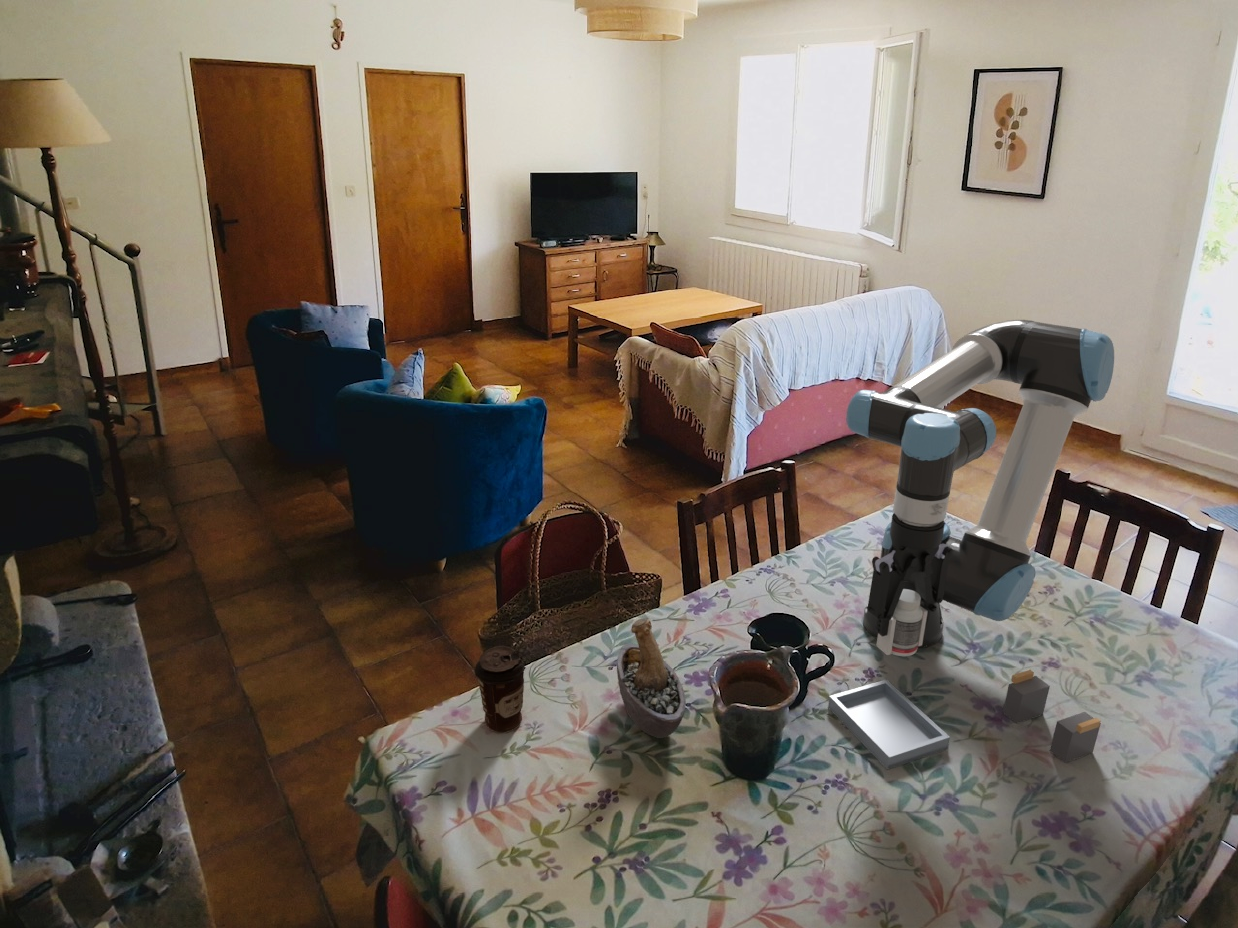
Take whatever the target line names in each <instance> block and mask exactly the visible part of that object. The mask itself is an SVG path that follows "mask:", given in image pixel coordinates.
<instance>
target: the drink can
mask: <svg viewBox="0 0 1238 928" xmlns="http://www.w3.org/2000/svg"><path fill="white" fill-rule="evenodd" d="M523 656H524V655H523V654H522V653H521V652H520V651H519V650H517V649H515V648H512V647H510V646H506V645H497V646H494V647H491V648H488V649H486V650H485V651H484V652H483V653H482V654H481V655H480V657H479V660H478V661H477V663H476V665H475V667H474V669H473V670H474V676H475V677H476V678H477V681H478V684H479V685H478V687H479V691H480V698H481V704H482V710H483V711H484V713H485V714H484V722H485V725H486V727H487V728H488V729H489V730H490V731H492V732H494V733H496V734H497V733H498V734H503V733H510V732H512V731H513V730H515V729H517V728H518V727H519V726H520V725H521V723H522V720H523V717H522V716H523V713H522V709H523V705H524V704H523V703H524V693H525V692H524V690H525V678H524V673H525V672H524V671H525V670H526V669H527V668H526V666H525V662H524V660H523Z"/></svg>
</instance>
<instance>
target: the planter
mask: <svg viewBox="0 0 1238 928" xmlns="http://www.w3.org/2000/svg"><path fill="white" fill-rule="evenodd" d="M630 631H631V633H633V634H634V636H635V638H636V642H637V644H636V643H631V642H628V643H625V644H624V645H622V646H621V648H620V649H619V652H618V655H617V660H616V673H617V681H618V686H619V687H618V688H619V693H620V697H621V699H622V702H623V705H624V707H625V710H626V712H627V714H628V716H629V718H630V719H631V720H632V722H633V723H634V724H635V725H636V726H637V728H639V729H640V730H641V731H642V732H643V733H646V734H648V735H649V736H652V737H653V738H659V739H660V738H661V739H663V738H667V737H669V736H670V735H672V734H673V733H674V732H675V731H676V730H677V729H678V727H679V726H680V724H681V723H682V720H683V718H684V715H685V711H686V703H687V701H686V696H685V691H684V688H683V685H682V682H681V680H680V678H679V676H678V675H677V673H676V671H675V670H674V669H673V668H672V667H671V665H670V664H668V663H667V662H666V660H664V659H663V655H662V654H661V649H660V647H659V644H658V642H657V640H656V638H655V635H654V634H653V631H652V623H651V620H650V619H647V618H640V619H637V620H635V621H634V622H633V623H632V625H631V630H630Z"/></svg>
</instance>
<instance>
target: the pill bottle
mask: <svg viewBox="0 0 1238 928" xmlns="http://www.w3.org/2000/svg"><path fill="white" fill-rule="evenodd" d="M920 600H921V597H920V595H919V594H918V593H917V592H915V591H912V590H909V589H903V591H902V593H901V596H900V598H899V601H898V604H897V606H896V609H895V611H894V614H893V617H894V618H895V619H896V625H895V631H894V638H893V645H892V652H891V655H894V656H900V657H911V656H912V655H914V654H916V653H917V651H918V648H917V647H918V641H919V635H920V629H921V623H922V617H923V612H922V609H921V608H920V607H919V606H920Z"/></svg>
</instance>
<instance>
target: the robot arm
mask: <svg viewBox="0 0 1238 928" xmlns="http://www.w3.org/2000/svg"><path fill="white" fill-rule="evenodd" d="M1114 366H1115V347H1114V343H1113V341H1112V339H1111V338H1110V337H1109V336H1108V335H1107V334H1105V333H1102V332H1101V333H1100V332H1097V331H1093V330H1088V329H1087V328H1078V327H1071V326H1065V325H1058V324H1050V323H1044V322H1039V321H1035V320H1028V319H1011V320H1004V321H1001V322H1000V321H999V322H996V323H991V324H989V325H985V326H982V327H980V328H977V329H975V330H972V331H970V332H969V333H967V334H965V335H964V336H962V337H960V338H959V339H958V340H957V341H956V342H955V343H954V345H953V346H952V349H951V350H949V351H948V352H946V353H944V355H942V356H940V357H939V358H937V359H935V360H934V361H932V362H930V363H929V364H927V365H925V366H924V367H922V368H920V369H919V370H917V371H916V372H914V373H912V374H911V375H909V376H907V377H906V378H904V379H903V380H901V381H899V382H898V383H896V384H895V385H892V386H891V387H890V388H888V389H886V390H885V391H884V392H878V391H877V390H876V389H875V390H870V389H861V390H858V391H857V392H856V393H855V394H854V395H853V396H852V398H851V399H850V401H849V403H848V405H847V410H846V418H845V419H846V425H847V428H848V429H849V430H850V431H851V432H852V433H854V434H858V435H859V436H862V437H866V439H868V440H874V441H877V442H878V441H879V442H882V443H886V444H888V445H893V446H895V447H899V448H901V449H900V456H899V457H900V458H899V465H898V466H899V467H898V475H897V481H896V487H895V492H894V493H895V494H894V500H893V507H892V512H893V514H892V515H891V522H889V524H887V526H886V528H885V530H884V534H883V538H882V541H881V544H880V545H881V551H880V557H878V556H874V557H873V558H872V559H871V563H872V569H873V571H872V577H871V585H870V590H869V596H868V602H867V604H866V606H865V608H864V611H863V619H862V622H863V623H862V624H863V626H864V628H865V629H866V630H867V632H868V633H869V634H870V635H872V636H873V637H874V638H876V645H875V646H876V647H877V648H878V649H879V650H880V651H882V652H883V653H884V654H885V655H887V656H890V655H892V653H891V652H892V645H893V638H894V631H895V625H896V619H895V618H894V617H893V614H894V611H895V609H896V606H897V604H898V601H899V598H900V596H901V593H902V591H903V589H909V590H912V591H915V592H917V593H918V594H919V595H920V597H921V600H920V606H919V607H920V608H921V609H922V612H923V617H922V623H921V629H920V635H919V641H918V647H917V649H922V648H928V647H931V646H933V645H935V644H937V643H938V642H939V641H940V640H941V638H942V636H943V631H944V619H943V617H942V615H943V614H942V609H941V605H940V604H941V603H942V602H943V601H944V602H947V603H948V604H949V603H950V604H951V605H954V606H956V607H959V608H961V609H964V610H966V611H968V612H971V613H973V615H975V616H980V617H981V616H982V617H984V618H986V619H988V620H993V621H995V622H1001V621H1005V620H1008V619H1009V618H1011V617H1012V616H1013V615H1014V614H1015V613H1016V612H1017V611H1018V610H1019V609H1020V608H1021V607H1022V605H1023V603H1024V602H1025V600H1026V599H1027V597H1028V595H1029V593H1030V591H1031V590H1032V588H1033V585H1034V583H1035V580H1034V579H1035V578H1036V568H1035V567H1034V566H1033V565H1032V564H1031V563H1029V561H1030V559H1031V557H1032V552H1031V551H1030V549H1029V547H1028V545H1027V541H1028V538H1029V535H1030V532H1031V530H1032V527H1033V525H1034V522H1035V520H1036V517H1037V516H1038V515H1037V514H1038V513H1039V510H1040V507H1041V505H1042V502H1043V499H1044V497H1045V494H1046V491H1047V490H1048V487H1049V486H1048V485H1049V484H1050V482H1051V478H1052V475H1053V473H1054V470H1055V469H1056V466H1057V464H1058V463H1057V462H1058V460H1059V458H1060V455H1061V453H1062V450H1063V448H1064V445H1065V443H1066V440H1067V437H1068V435H1069V431H1070V430H1071V427H1072V425H1073V421H1074V419H1075V418H1076V417H1077V416H1079V415H1081V414H1083V413H1086V412H1087V411H1088V409H1089V407H1090V405H1091V402H1101V401H1103V400H1104V398H1105V397H1106V394H1107V393H1108V391H1109V388H1110V386H1111V383H1112V378H1113V373H1114ZM993 380H996V381H997V380H998V381H1004V382H1010V383H1015V384H1017V385H1018V384H1019V385H1020V387H1019V389H1018V394H1019V396H1020V398H1021V399H1022V401H1023V404H1022V407H1021V410H1020V412H1019V415H1018V417H1017V420H1016V422H1015V425H1014V428H1013V430H1012V434H1011V436H1010V438H1009V441H1008V443H1007V445H1006V449H1005V451H1004V454H1003V456H1002V460H1001V462H1000V465H999V467H998V469H997V471H996V472H997V473H996V475H995V478H994V480H993V483H992V485H991V489H990V491H989V494H988V496H987V498H986V501H985V504H984V506H983V509H982V511H981V514H980V517H979V520H978V522H977V525H975V526H974V527H972V528H969V529H967V530H965V531H964V534H963V537H962V539H958V538H956V537H953V536H951V534H952V533H951V532H952V531H951V528H950V526H949V524H947V523H946V522H945V520H946V516H947V510H948V505H949V499H950V494H951V488H952V482H953V476H954V473H955V472H956V471H957V470H959V469H961V468H962V467H964V466H965V465H966V466H967V465H968V464H969V463H971V462H972V461H975V460H978V459H979V458H980V457H982V456H983V455H984V454H985V453H986V452H988V451H989V450H990V449H991V448H992V447H993V445H994V443H995V441H996V438H997V427H996V424H995V422H994V420H993V418H992V417H991V416H990V415H989V414H988V413H987V412H985V411H983V410H981V409H979V408H976V407H969V408H965V409H963V408H962V409H960V410H957V411H952V410H949V409H946V408H945V409H944V407H945V406H946V405H948V404H949V403H950V402H952V401H954V400H955V399H956V398H958V397H959V396H961V395H963V394H964V393H965V392H967V391H968V390H970V389H971V388H973V387H974V386H975V385H982V384H988V383H989V382H992V381H993Z"/></svg>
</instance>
